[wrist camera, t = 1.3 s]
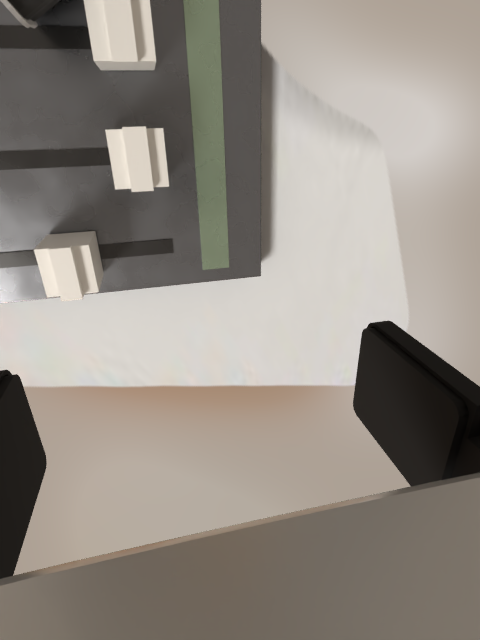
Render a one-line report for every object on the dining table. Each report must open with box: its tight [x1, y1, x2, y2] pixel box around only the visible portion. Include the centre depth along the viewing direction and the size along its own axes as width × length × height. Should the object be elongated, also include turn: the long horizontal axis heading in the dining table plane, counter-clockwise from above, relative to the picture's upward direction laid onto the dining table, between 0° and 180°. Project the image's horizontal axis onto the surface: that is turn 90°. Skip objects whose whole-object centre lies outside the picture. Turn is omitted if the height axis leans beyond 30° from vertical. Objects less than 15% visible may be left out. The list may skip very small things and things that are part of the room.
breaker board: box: [0, 0, 261, 303], centre depth 24 cm, size 18×26×2 cm
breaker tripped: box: [34, 231, 104, 301], centre depth 24 cm, size 3×3×4 cm
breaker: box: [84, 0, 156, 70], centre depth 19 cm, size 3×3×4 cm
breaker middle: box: [105, 126, 169, 192], centre depth 22 cm, size 3×3×4 cm
